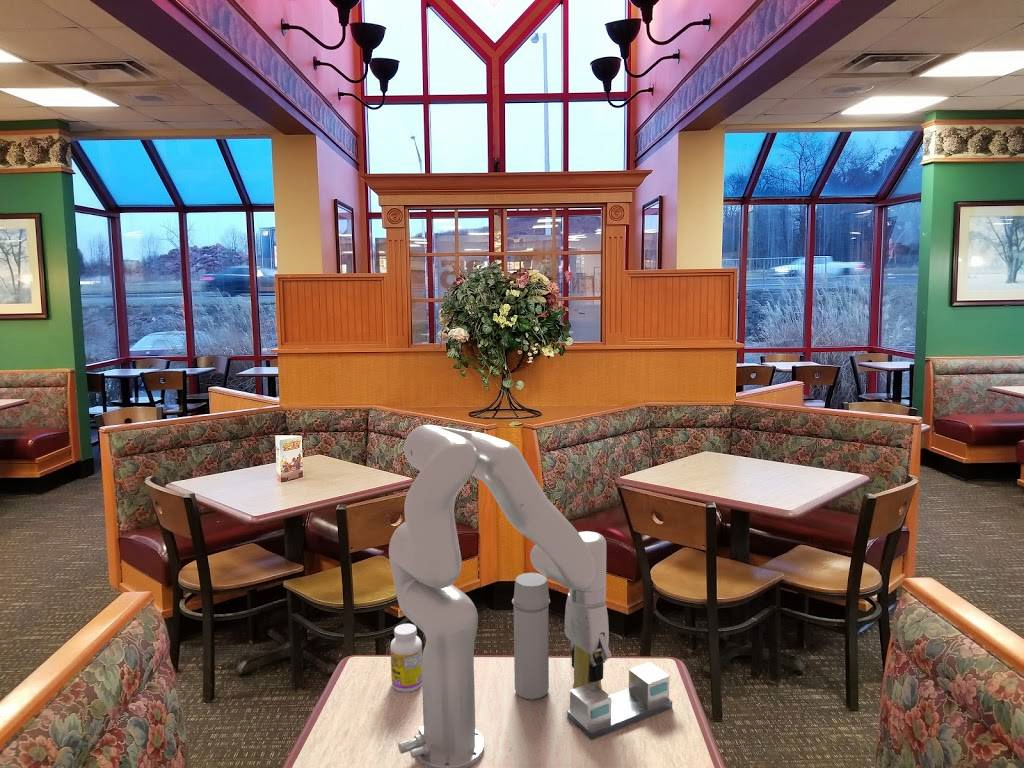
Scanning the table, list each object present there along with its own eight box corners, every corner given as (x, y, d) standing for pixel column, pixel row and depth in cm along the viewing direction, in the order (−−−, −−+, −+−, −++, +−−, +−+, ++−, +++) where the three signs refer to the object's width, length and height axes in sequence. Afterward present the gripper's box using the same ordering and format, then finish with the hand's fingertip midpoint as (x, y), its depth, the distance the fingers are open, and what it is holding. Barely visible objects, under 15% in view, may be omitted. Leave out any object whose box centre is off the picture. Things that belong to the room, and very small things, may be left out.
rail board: (590, 740, 138) (591, 708, 137) (567, 717, 145) (567, 687, 144) (672, 707, 147) (672, 678, 146) (646, 688, 154) (646, 659, 153)
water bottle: (551, 701, 150) (551, 587, 146) (513, 702, 150) (511, 587, 146) (549, 676, 159) (548, 568, 155) (513, 676, 159) (511, 568, 155)
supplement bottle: (388, 680, 158) (385, 625, 156) (417, 672, 161) (415, 618, 159) (396, 696, 152) (394, 639, 150) (427, 688, 155) (425, 632, 153)
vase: (601, 681, 157) (602, 619, 154) (602, 698, 151) (602, 634, 148) (573, 680, 157) (573, 618, 155) (572, 697, 151) (572, 633, 149)
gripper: (549, 581, 156) (550, 659, 159) (597, 614, 141) (596, 699, 144) (578, 573, 160) (578, 649, 163) (628, 604, 145) (627, 688, 148)
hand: (587, 672), depth 154 cm, fingers closed on vase, 5 cm apart
